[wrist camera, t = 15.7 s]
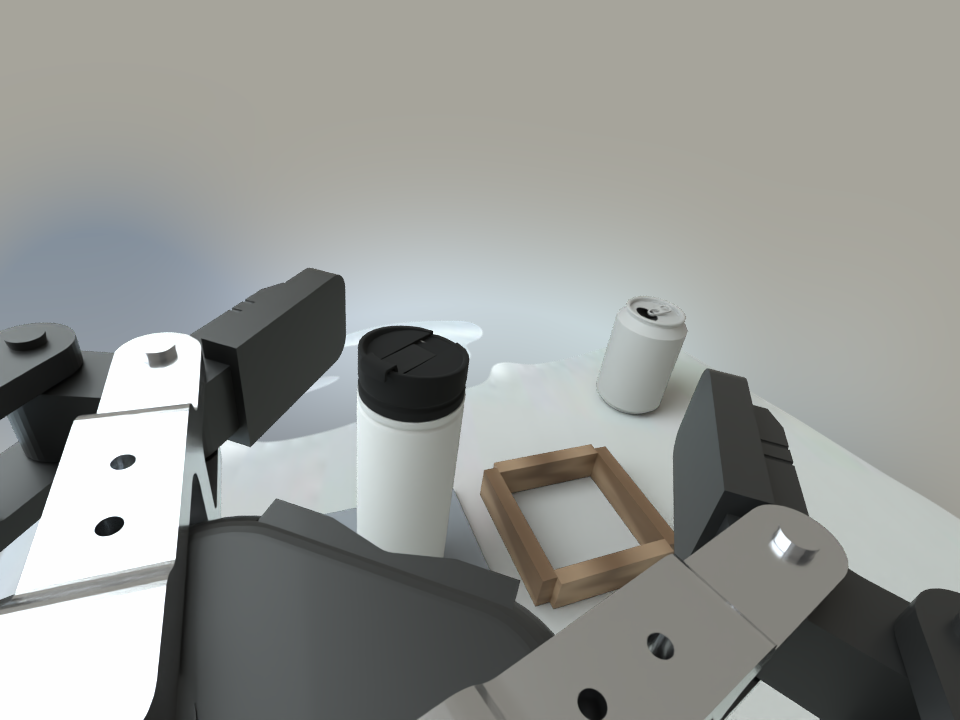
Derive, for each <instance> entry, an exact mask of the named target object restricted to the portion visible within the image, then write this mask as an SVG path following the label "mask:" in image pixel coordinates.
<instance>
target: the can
mask: <svg viewBox="0 0 960 720" xmlns="http://www.w3.org/2000/svg"><path fill="white" fill-rule="evenodd" d="M685 319H686V316H685V314H684V312H683V311H682V310H681V309H680V308H679V307H677V306H676V305H674V304H672V303H670V302H668V301H666V300H662V299H658V298H655V297H648V296H638V297H633V298H631V299H629V300H628V301H627V303H626V307H623V308H621V309H620V310H619V311H618V313H617V316H616V319H615V322H614V326H613V329H612V332H611V336H610V339H609V343H608V346H607V349H606V352H605V356H604V359H603V363H602V366H601V369H600V373H599V376H598V379H597V383H596V387H597V391H598V393H599V394H600V396H601V397H602V398H603V399H604V401H605V402H606V403H607V404H608V405H609V406H611V407H613V408H614V409H616V410H618V411H621V412H624V413H629V414H642V413H646V412H649V411H653V410H655V409H656V408H657V407H659V405H660V402H661V399H662V397H663V394H664V392H665V389H666V386H667V384H668V381H669V379H670V376H671V373H672V371H673V368H674V366H675V363H676V360H677V358H678V355H679V353H680V350H681V347H682V345H683V342H684V340H685V337H686V334H687V328H686V325H685V324H684V322H685Z"/></svg>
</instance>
